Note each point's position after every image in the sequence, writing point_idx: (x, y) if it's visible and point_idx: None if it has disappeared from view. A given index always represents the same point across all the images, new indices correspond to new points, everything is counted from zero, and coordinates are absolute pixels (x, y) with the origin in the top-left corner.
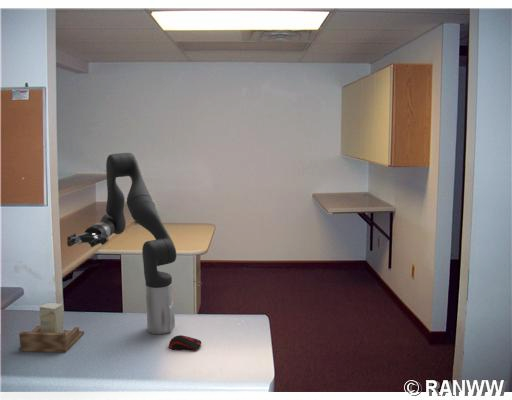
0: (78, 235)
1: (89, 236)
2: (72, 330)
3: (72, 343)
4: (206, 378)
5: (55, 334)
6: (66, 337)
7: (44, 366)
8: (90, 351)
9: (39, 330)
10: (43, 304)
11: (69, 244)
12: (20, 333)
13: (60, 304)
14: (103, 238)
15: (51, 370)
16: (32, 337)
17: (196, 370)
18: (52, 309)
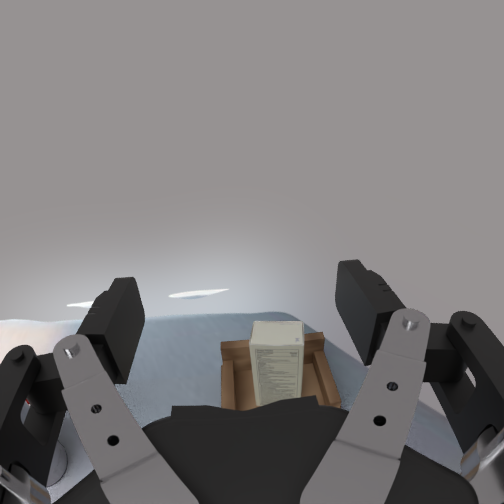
0: (386, 354)
1: (213, 438)
2: (231, 399)
3: (221, 389)
4: (18, 326)
5: (240, 342)
6: (228, 370)
7: (236, 332)
8: (173, 378)
9: (326, 397)
10: (303, 333)
11: (337, 284)
12: (320, 332)
13: (254, 343)
14: (14, 353)
15: (217, 326)
16: None
17: (22, 338)
18: (259, 323)
